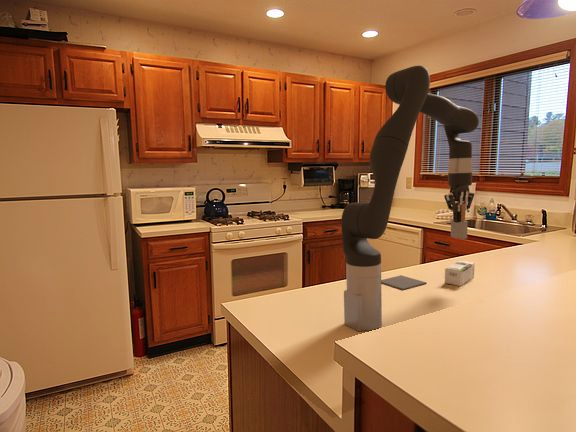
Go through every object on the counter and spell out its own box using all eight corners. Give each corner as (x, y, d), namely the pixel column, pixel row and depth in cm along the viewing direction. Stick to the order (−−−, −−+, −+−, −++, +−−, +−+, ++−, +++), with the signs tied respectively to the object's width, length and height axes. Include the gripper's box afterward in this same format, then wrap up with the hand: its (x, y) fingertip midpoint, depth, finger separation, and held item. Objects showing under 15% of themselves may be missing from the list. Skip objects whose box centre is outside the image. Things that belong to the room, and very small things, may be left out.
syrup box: (444, 267, 134) (459, 259, 144) (444, 283, 135) (458, 274, 145) (461, 270, 130) (475, 261, 140) (460, 287, 131) (474, 276, 141)
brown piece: (463, 238, 128) (464, 204, 127) (450, 236, 132) (451, 203, 131) (467, 238, 129) (468, 203, 128) (454, 236, 133) (455, 202, 132)
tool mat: (402, 290, 129) (402, 288, 129) (378, 282, 139) (378, 280, 139) (426, 283, 135) (426, 282, 135) (401, 276, 145) (401, 275, 145)
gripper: (456, 172, 122) (455, 224, 123) (482, 171, 128) (481, 221, 130) (437, 172, 128) (436, 222, 130) (462, 171, 135) (462, 219, 137)
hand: (459, 221), depth 130 cm, fingers closed on brown piece, 2 cm apart
